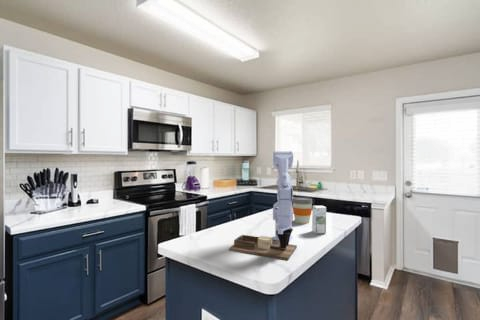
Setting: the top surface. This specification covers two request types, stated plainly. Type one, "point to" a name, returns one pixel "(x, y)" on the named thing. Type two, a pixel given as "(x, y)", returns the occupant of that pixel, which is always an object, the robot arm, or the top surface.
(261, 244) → the cream block with stem
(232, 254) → the top surface
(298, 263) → the top surface
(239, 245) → the walnut lane shelf
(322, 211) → the syrup box
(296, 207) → the reusable coffee cup
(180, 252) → the top surface
